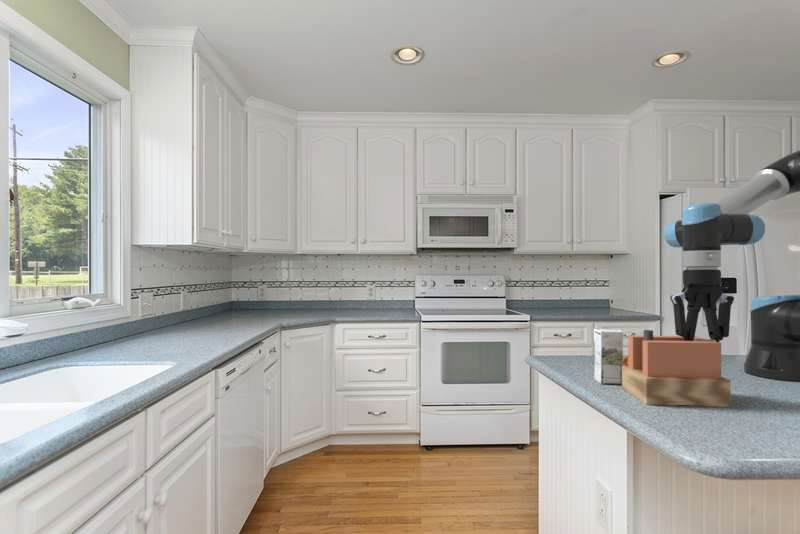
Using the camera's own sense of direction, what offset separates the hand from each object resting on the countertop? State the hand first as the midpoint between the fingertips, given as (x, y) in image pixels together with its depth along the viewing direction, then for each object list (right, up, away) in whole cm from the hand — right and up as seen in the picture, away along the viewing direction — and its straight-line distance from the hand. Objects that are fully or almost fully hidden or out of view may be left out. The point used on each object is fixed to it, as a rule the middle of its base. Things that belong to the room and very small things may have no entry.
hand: (701, 366), depth 102 cm
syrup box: (-16, -8, +14) cm, 23 cm away
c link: (-7, -2, +1) cm, 7 cm away
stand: (-7, -8, +1) cm, 10 cm away
